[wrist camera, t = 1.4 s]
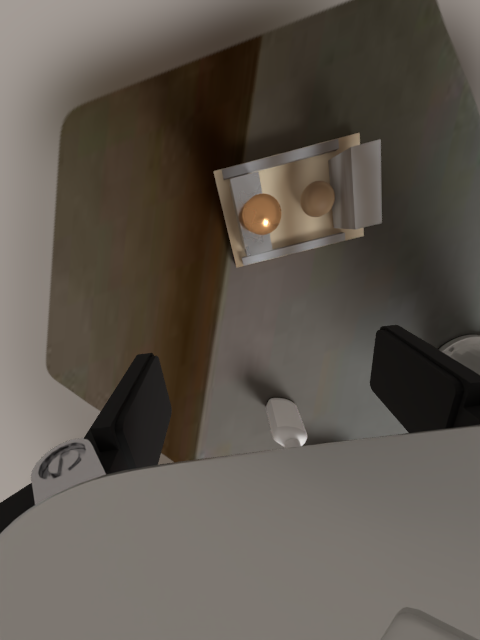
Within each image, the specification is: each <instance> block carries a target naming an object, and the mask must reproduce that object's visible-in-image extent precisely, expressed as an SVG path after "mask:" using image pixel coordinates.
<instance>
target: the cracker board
mask: <svg viewBox="0 0 480 640" xmlns="http://www.w3.org/2000/svg"><path fill="white" fill-rule="evenodd" d="M258 171H259V177H260V183H261V188H262V194H263V193H264V194H269V195H271V196H273V197H274V198H275V199H276V200H277V201H278V202H279V204H280V207H281V220H280V223H279V225H278V226H277V228H276V229H275V230H274V231H273V232H271V233H270V238H271V244H272V249H273V250H271V251H267V252H263V253H259V254H255V255H251V256H247V255H246V254H245V252H244V249H243V245H242V240H241V236H240V231H239V227H238V222H237V218H236V213H235V209H234V205H233V200H232V196H231V191H230V187H229V184H230V179H232V178H235V177H239V176H243V175H247V174H251V173H254V172H258ZM213 172H214V176H215V180H216V184H217V189H218V193H219V197H220V201H221V205H222V209H223V213H224V218H225V222H226V226H227V230H228V234H229V238H230V243H231V247H232V251H233V255H234V259H235V263H236V267H241V266H245V265H249V264H253V263H257V262H261V261H265V260H269V259H273V258H277V257H281V256H285V255H289V254H293V253H297V252H301V251H305V250H309V249H313V248H317V247H321V246H325V245H329V244H333V243H337V242H341V241H346V240H350V239H354V238H358V237H362V236H364V227H368V226H372V225H376V224H380V223H382V196H381V139H379V140H376V141H372V142H368V143H364V144H360V133H356V134H353V135H349V136H345V137H341V138H337V139H334V140H330V141H326V142H322V143H319V144H315V145H311V146H307V147H303V148H300V149H296V150H292V151H288V152H285V153H281V154H277V155H273V156H269V157H266V158H262V159H258V160H254V161H251V162H247V163H243V164H239V165H235V166H232V167H228V168H224V169H220V170H217V171H213ZM315 181H325V182H327V183H329V184H330V185H331V186H332V188H333V190H334V193H335V200H334V204H333V206H332V208H331V209H330V210H329V212H327V213H326V214H325V215H323V216H320V217H311V216H308V215H307V214H306V213H305V212H304V211H303V210H302V208H301V203H300V199H301V195H302V192H303V191H304V189H305V188H306V187H307V186H308V185H309V184H310V183H312V182H315Z"/></svg>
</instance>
